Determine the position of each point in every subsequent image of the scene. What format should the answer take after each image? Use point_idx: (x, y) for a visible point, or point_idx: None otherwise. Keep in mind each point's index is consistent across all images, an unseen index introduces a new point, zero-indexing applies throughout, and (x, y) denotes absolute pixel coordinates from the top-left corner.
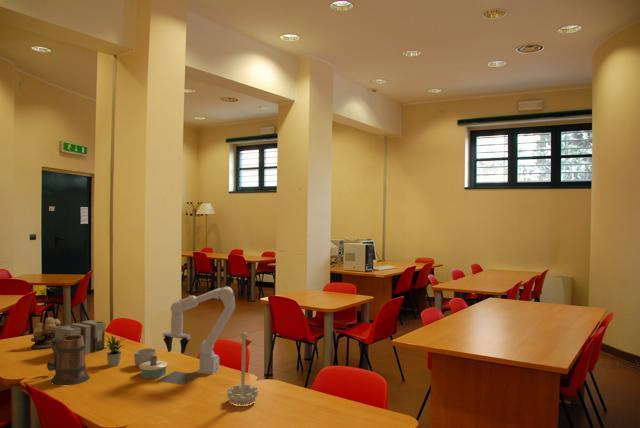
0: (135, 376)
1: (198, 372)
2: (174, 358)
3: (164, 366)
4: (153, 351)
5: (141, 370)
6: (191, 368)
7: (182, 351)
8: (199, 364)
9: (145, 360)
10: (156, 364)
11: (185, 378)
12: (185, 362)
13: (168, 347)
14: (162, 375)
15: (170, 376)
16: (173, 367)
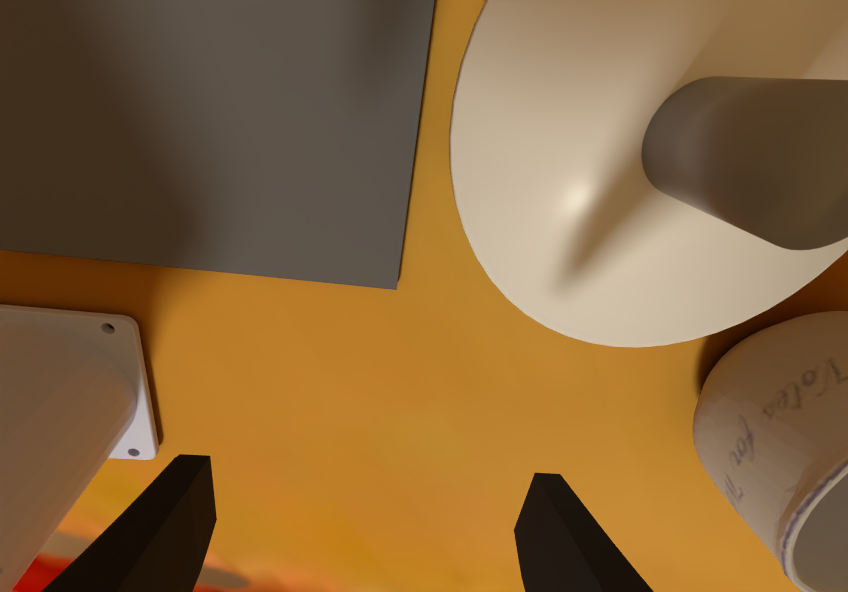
0: None
1: (88, 314)
2: None
3: (458, 89)
4: (795, 557)
5: None
6: (276, 421)
7: (140, 495)
8: (57, 407)
9: (838, 353)
10: (643, 155)
11: (72, 41)
12: (419, 527)
13: (585, 568)
14: None
15: (341, 81)
16: (470, 405)
